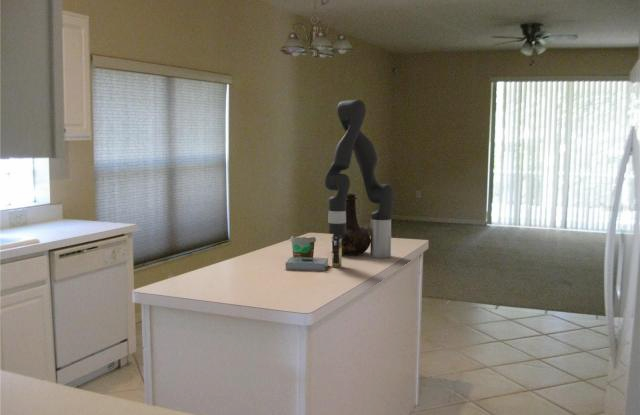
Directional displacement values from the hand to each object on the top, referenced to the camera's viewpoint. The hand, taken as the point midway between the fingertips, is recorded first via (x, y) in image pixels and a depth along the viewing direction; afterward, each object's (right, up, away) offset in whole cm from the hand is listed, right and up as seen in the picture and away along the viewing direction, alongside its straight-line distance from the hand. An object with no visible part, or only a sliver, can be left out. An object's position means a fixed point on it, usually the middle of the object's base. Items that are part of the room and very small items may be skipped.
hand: (336, 261), depth 268 cm
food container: (-16, 0, +17) cm, 24 cm away
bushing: (0, -2, 0) cm, 2 cm away
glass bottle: (+7, +1, +31) cm, 32 cm away
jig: (-12, -2, -1) cm, 13 cm away
